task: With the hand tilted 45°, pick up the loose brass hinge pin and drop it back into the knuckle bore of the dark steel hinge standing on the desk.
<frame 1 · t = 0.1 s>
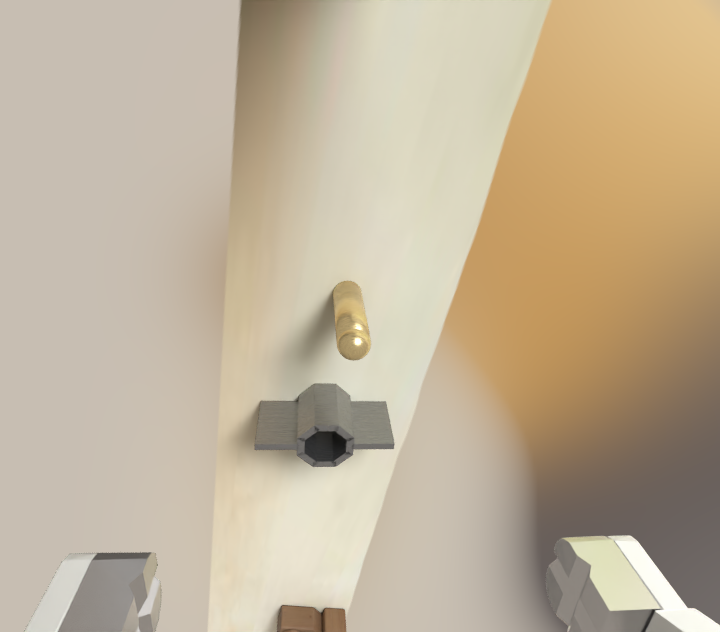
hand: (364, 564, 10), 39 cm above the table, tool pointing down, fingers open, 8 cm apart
hinge: (324, 403, 58), on the table
brass pin: (347, 293, 50), on the table
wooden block: (311, 610, 80), on the table
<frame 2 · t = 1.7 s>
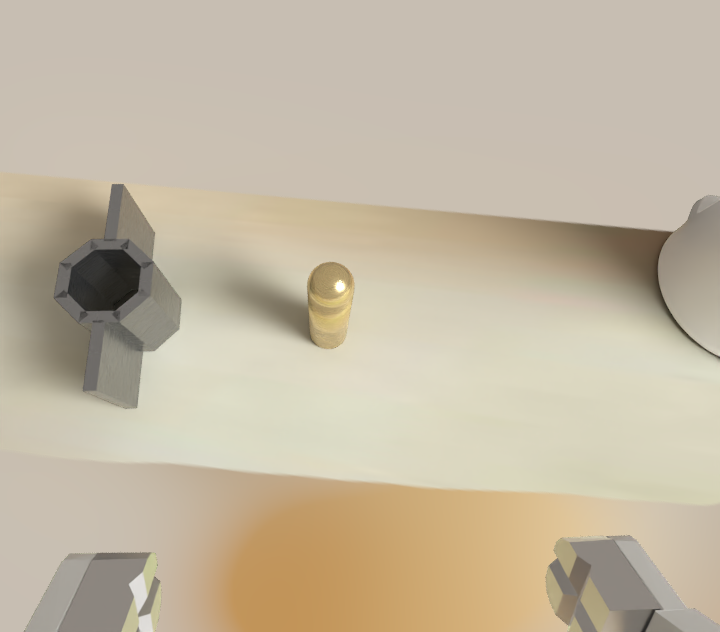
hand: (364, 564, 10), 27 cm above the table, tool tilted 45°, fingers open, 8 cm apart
hinge: (141, 314, 39), on the table
brass pin: (328, 331, 39), on the table
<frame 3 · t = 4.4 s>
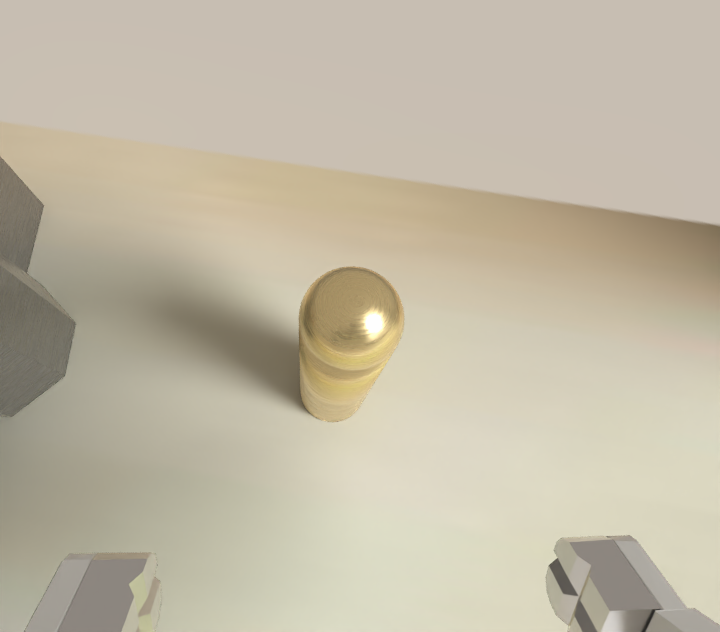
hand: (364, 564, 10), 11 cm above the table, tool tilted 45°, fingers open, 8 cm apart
brass pin: (332, 389, 22), on the table
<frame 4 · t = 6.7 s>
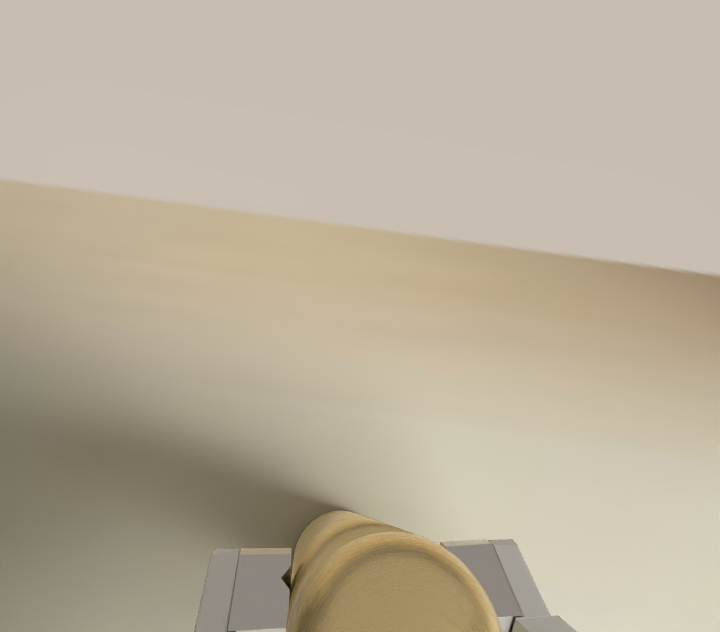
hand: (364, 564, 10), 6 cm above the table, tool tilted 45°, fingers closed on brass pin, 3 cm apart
brass pin: (339, 560, 15), on the table, touching gripper
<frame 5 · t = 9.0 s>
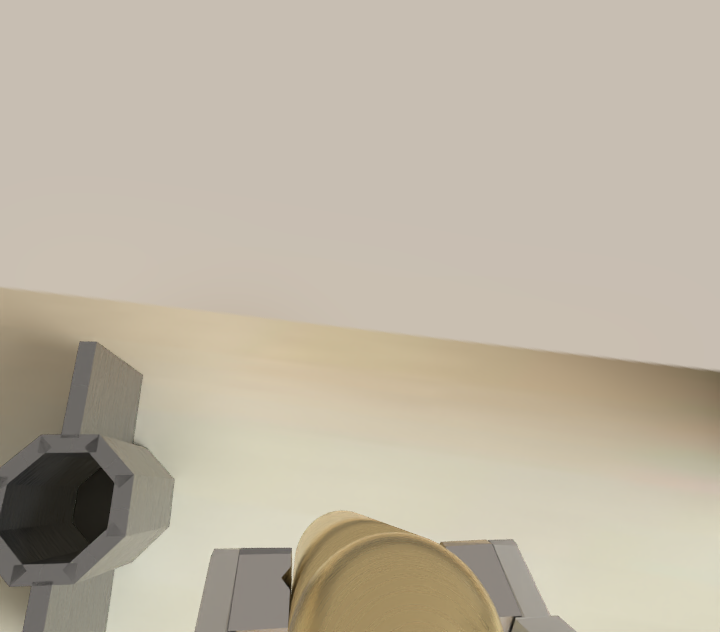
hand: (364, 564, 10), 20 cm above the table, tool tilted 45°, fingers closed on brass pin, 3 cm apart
hinge: (116, 503, 27), on the table
brass pin: (341, 560, 15), point 13 cm above the table, touching gripper
when the fingers open (15 cm above the table, at t = 11.2 s): brass pin drops 8 cm, resting in hinge.
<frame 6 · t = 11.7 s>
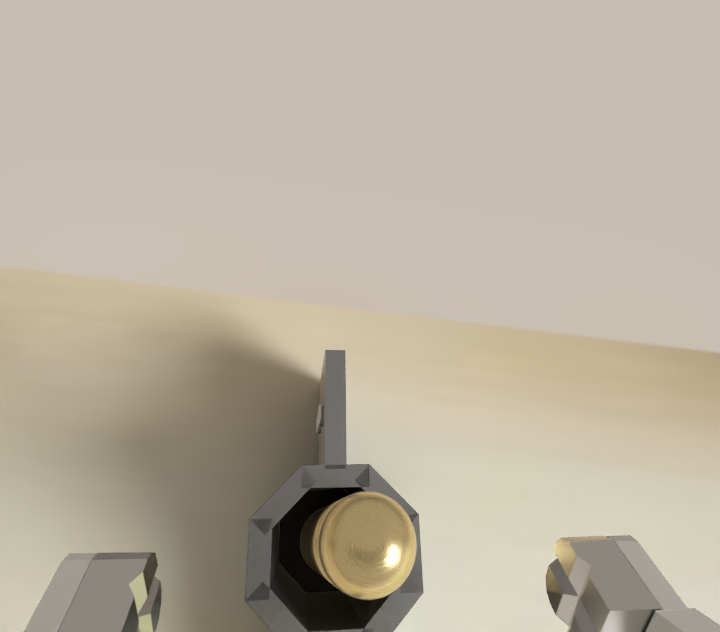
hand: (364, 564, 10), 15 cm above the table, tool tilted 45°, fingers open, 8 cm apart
hinge: (326, 539, 23), on the table
brass pin: (330, 539, 23), resting in hinge, tilted 5°
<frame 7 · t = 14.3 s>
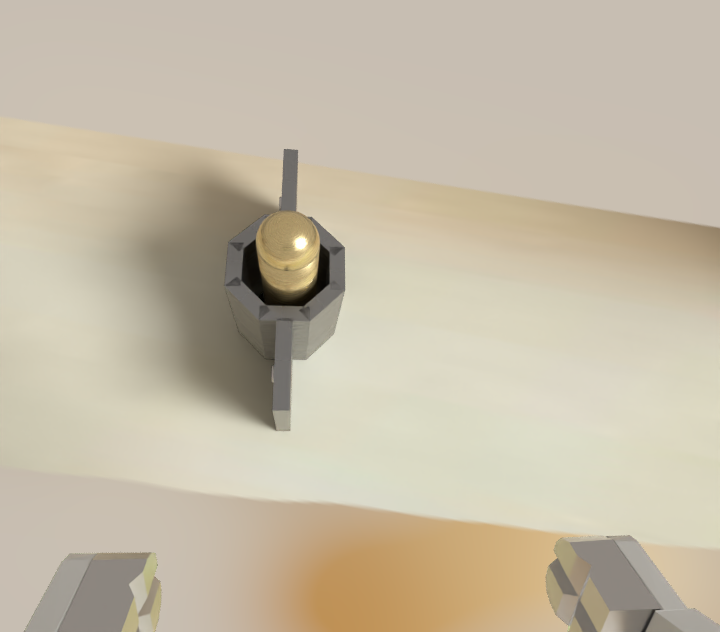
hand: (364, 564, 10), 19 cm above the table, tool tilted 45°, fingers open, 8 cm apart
hinge: (287, 314, 31), on the table
brass pin: (290, 315, 31), resting in hinge
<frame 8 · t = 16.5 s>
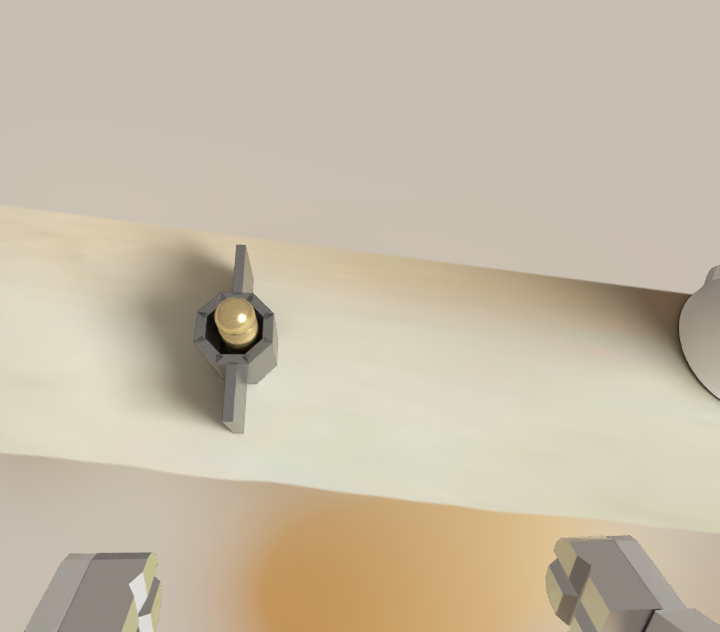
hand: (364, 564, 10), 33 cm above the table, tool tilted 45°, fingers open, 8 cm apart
hinge: (244, 351, 45), on the table
brass pin: (246, 352, 45), resting in hinge
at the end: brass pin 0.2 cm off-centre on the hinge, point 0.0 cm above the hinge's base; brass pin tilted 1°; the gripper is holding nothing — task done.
